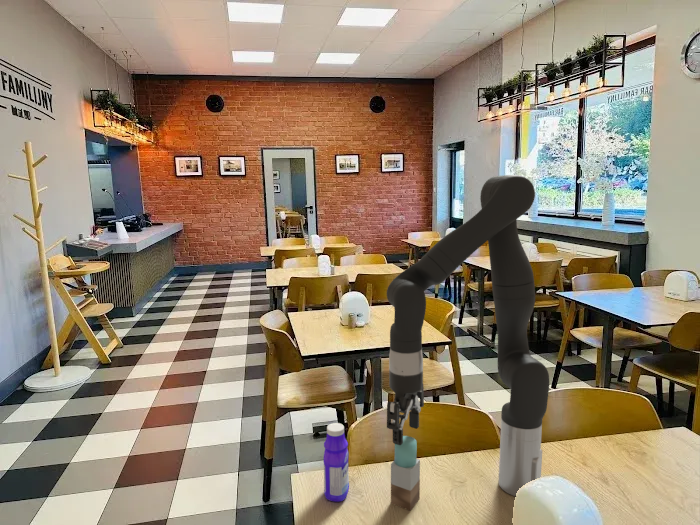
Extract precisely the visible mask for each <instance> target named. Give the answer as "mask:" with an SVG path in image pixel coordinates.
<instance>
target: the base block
mask: <svg viewBox="0 0 700 525" xmlns="http://www.w3.org/2000/svg"><path fill="white" fill-rule="evenodd" d="M420 483H421V479H420V480H419V481H418V482H417V483H416V485H415V486H414V487H413V488H412V490H411V491H410V490H407V489H404V488H401V487H398V486H396V485H393V484H391V483H390V504H392V505H394V506H397V507H400V508H402V509H405V510H407V511H412V510H413V508H414V507H415V505H416V504H417V503H418V502H419V500H420V494H421V493H420V492H421V490H420V489H421V486H420Z"/></svg>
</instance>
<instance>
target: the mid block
mask: <svg viewBox="0 0 700 525" xmlns="http://www.w3.org/2000/svg"><path fill="white" fill-rule="evenodd" d="M420 476H421V459H419V458H416V465H415V466H413V467H410V468H403V467H400V466H398V465H396V464H395V459H394V460H393V461H392V462H391V463H390V485H391V484H393V485H396V486H398V487H401V488H404V489H407V490H410V491H411V490H412V488H413V487H414V486H415V485H416V483H417V482H418V481H419V480H420V481H421V479H420V478H421V477H420Z"/></svg>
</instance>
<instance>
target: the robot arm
mask: <svg viewBox="0 0 700 525" xmlns="http://www.w3.org/2000/svg"><path fill="white" fill-rule="evenodd" d="M535 191H536V190H535V187H534V184H533V183H532V181H530V179H529V178H527V177H525V176H522V175H517V174H508V175H507V174H505V175H495V176H493V177H490V178H489V179H487V180H485V182H484V184H483V186H482V187H481V190H480V198H479V199H480V207H481V209H480V210H479V211H478V212H477V213H475V215H473V216H472V217H471V218H469V220H467V221H465V223H463V224H461V225H460V226H458V227H457V228H455V229H454V230H452V231H451V232H449V233H448V234H446V235H445V236H443V237H442V238H441V239H440V240H439V241H437V242H436V243H435V244H434V245H433V246H432V247H431V248H430V249H429V250H428V251H427V252H426V253H425V254H424V255H423V256H422V257H421V258H420V259H419V260H418V261H417V262H415V263H414V264H412V265H411V266H409V267H407V268H406V269H405V270H403V271H402V272H401V273H399V274H398V275H397V276H396V277H395V278H393V280H391V282H390V283H389V285H388V286H387V290H386V299H387V301H388V303H389V304H390V305H391V306H392V307H393V308H394V320H393V323H392V324H391V326H390V330H389V355H388V366H389V367H388V371H389V372H388V376H389V377H388V378H389V382H388V383H389V388H390V390H392V391H393V393H394V399H393V400H394V401H387V404H386V428H387V429H389V430H392V443H393V444H394V445H395V444H397V445H402V443H403V436H404V429H403V428H404V424H405V421H407V420H408V419H409V421H408V423H409V424H408V425H409V427H410V428H412V429H416V430H417V429H418V428H419V427H420V412H421V411H422V410H421V409H422V408H424V405H425V397H424V395H425V393H424V390H425V389H424V356H423V347H422V345H423V342H422V341H423V340H422V339H423V334H422V330H423V325H424V321H425V315H426V310H427V297H426V294H425V291H426V290H428V289H429V288H430V287H432V286H438V285H440V284H441V283H443V282H444V281H446V279H448V278H449V277H450V276H451V275H452V274H453V273H454V272H455V271H456V270H457V269H458V268H459V267H461V265H462V264H463V263H464V262H465V261H466V260H467V259H469V258H470V256H471V255H472V254H474V253H475V252H476V251H477V250H478V249H480V247H482V246H483V245H484V244H485V243H487V242H488V252H489V253H488V254H489V255H488V257H489V264H490V274H491V287H492V288H491V289H492V296H493V297H492V298H493V303H494V312H495V313H494V314H495V323H496V330H497V373H498V376H499V378H500V380H501V381H502V383H503V384H504V385H505V386H506V387H508V388H509V389H510V395H509V397H510V398H509V401H508V402H506V403H504V404H503V405H502V408H501V416H500V417H501V418H500V437H499V438H500V444H499V462H498V485H499V488H500V489H502V491H504V493H507V494H509V495H510V496H513V497H516V496H515V495H516V493H517V491H518V490H519V488H521V487H522V486H523V485H525V484H526V483H528V482H530V481H532V480H535V479H537V478H540V477H541V478H542V468H543V467H542V464H543V450H542V447H541V446H542V434H543V433H542V432H543V431H542V430H543V429H542V428H543V419H544V416H546V415H545V414H546V413H547V408H548V400H549V393H550V373H549V371H548V368H547V367H546V365H544V363H542V362H541V361H539V360H538V359H537V358H534V357H533V356H532V355H531V352H530V347H529V339H528V328H529V327H528V326H529V323H530V320H531V317H532V314H533V311H534V307H535V305H536V290H535V289H536V288H535V278H534V271H533V268H532V265H531V262H530V260H529V258H528V255H527V253H526V251H525V250H524V247H523V245H522V243H521V239H520V237H519V232H518V222H517V219H519V218H521V216H523V215H525V214H526V213H527V212H528V211H529V210H530V208H531V207H532V205H533V203H534V201H535V197H536V192H535ZM401 413H402V414H401ZM408 417H409V418H408Z"/></svg>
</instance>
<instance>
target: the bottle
mask: <svg viewBox="0 0 700 525" xmlns="http://www.w3.org/2000/svg"><path fill="white" fill-rule="evenodd" d="M348 446H349V442H348V441H347V438H346V435H345V426H344V425H343V424H342V423H340V422H334V423H330V424H328V425H327V426H326V439H325V441H324V443H323V447H324V453H323V483H324V484H323V486H324V488H323V493H324V497H325V499H327V500H328V501H330V502H336V503H337V502H343V501H344V500H345V499H346V498H347V497H348V494H349V490H350V483H349V482H350V480H349V477H350V476H349V456H350V455H349V450H348Z"/></svg>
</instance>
